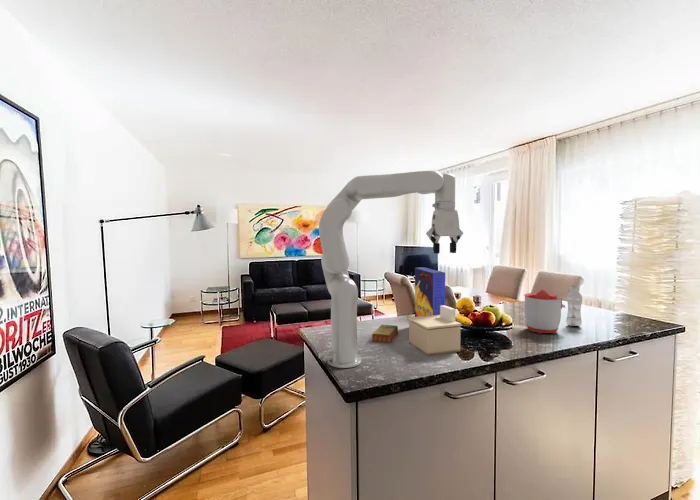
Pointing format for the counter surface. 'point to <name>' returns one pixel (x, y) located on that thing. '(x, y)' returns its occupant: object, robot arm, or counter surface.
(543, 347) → the counter surface
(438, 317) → the box lid
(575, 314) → the plastic bottle
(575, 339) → the counter surface
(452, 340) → the cardboard box
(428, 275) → the cereal box
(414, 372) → the counter surface
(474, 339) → the counter surface
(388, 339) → the carton
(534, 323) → the citrus juicer
